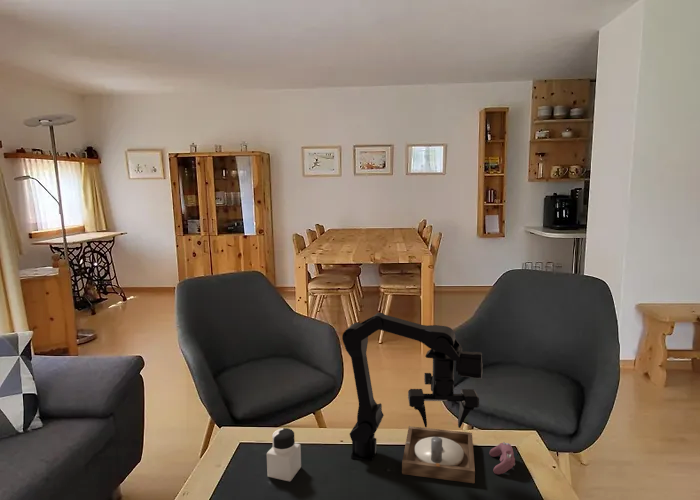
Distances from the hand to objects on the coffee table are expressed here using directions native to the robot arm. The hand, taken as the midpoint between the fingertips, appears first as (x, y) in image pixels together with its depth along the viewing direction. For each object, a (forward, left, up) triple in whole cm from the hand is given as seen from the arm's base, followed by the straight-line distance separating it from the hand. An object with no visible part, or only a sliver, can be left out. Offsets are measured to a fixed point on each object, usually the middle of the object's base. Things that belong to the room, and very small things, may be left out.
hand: (442, 426), depth 126 cm
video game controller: (+17, +5, -13) cm, 22 cm away
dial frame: (-1, +5, -13) cm, 14 cm away
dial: (-1, +5, -11) cm, 12 cm away
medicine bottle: (-43, -11, -13) cm, 46 cm away
